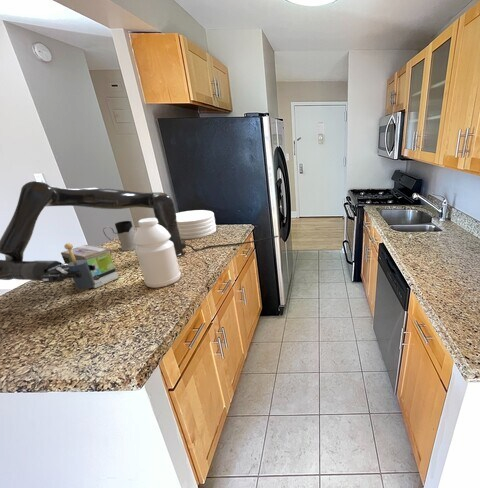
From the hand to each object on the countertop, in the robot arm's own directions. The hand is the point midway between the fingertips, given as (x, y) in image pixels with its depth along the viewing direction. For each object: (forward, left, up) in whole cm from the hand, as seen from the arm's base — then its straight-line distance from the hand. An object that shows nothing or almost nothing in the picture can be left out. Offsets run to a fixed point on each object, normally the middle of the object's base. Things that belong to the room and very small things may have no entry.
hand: (87, 271), depth 97 cm
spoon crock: (+2, -1, -6) cm, 7 cm away
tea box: (+5, -19, -13) cm, 24 cm away
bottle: (-22, -6, -13) cm, 26 cm away
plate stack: (-35, -72, -13) cm, 82 cm away
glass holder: (+1, -58, -13) cm, 59 cm away
